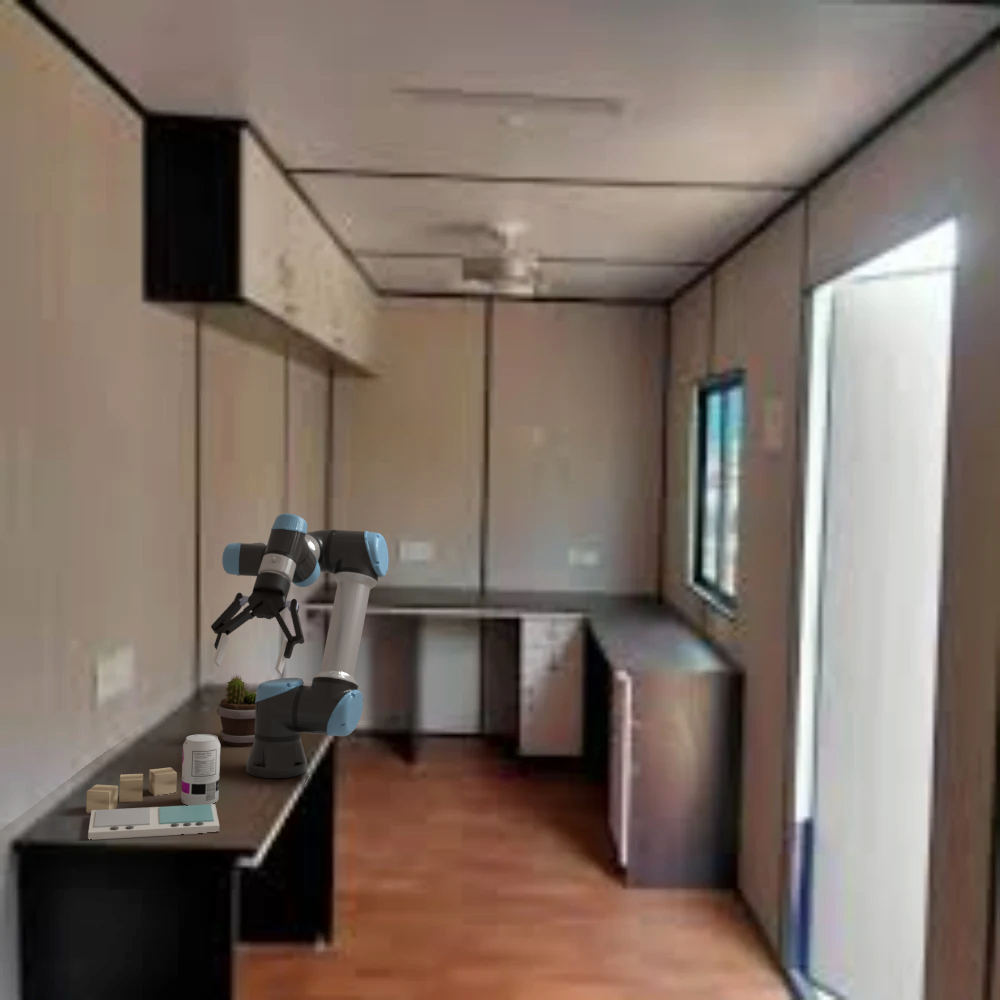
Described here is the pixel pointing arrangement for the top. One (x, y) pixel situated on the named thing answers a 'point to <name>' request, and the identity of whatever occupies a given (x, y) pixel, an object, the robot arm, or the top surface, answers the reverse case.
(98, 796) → the maple block
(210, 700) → the top surface
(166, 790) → the maple block
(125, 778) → the maple block
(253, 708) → the flowerpot
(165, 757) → the top surface
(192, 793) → the supplement can
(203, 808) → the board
